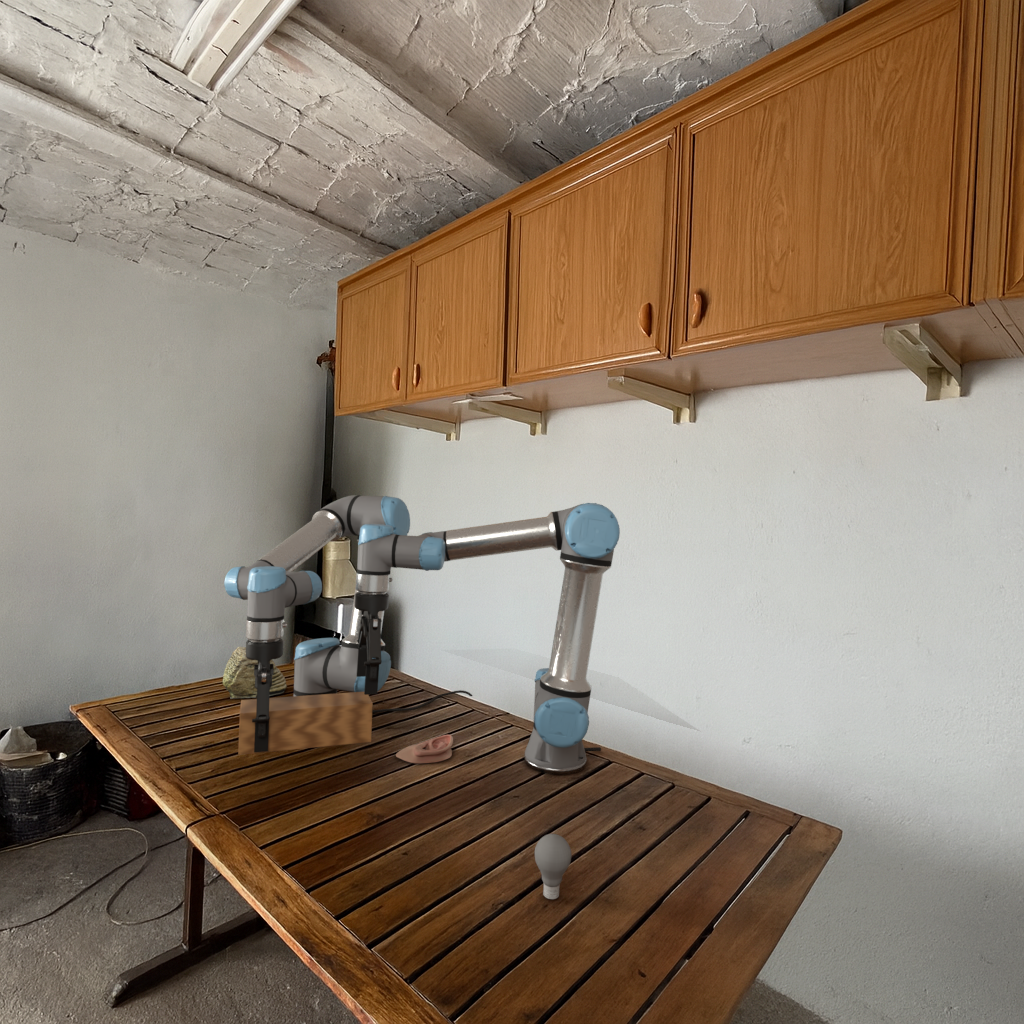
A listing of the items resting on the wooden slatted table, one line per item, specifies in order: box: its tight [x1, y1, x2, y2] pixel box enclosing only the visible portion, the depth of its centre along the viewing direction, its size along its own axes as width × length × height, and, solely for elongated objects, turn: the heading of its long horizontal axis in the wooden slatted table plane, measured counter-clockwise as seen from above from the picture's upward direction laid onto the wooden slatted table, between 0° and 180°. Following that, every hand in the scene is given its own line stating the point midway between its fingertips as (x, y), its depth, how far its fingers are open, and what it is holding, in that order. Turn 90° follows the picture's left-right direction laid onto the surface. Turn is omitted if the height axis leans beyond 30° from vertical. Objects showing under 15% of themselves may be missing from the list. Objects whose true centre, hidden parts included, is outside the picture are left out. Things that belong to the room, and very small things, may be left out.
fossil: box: [222, 646, 288, 699], centre depth 198 cm, size 9×18×15 cm, turn 132°
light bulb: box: [534, 833, 573, 900], centre depth 103 cm, size 6×6×10 cm
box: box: [237, 692, 374, 756], centre depth 140 cm, size 27×9×9 cm, turn 111°
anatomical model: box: [395, 734, 454, 764], centre depth 157 cm, size 13×4×12 cm
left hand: (261, 742), depth 137 cm, fingers closed on box, 9 cm apart
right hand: (366, 684), depth 144 cm, fingers open, 13 cm apart
